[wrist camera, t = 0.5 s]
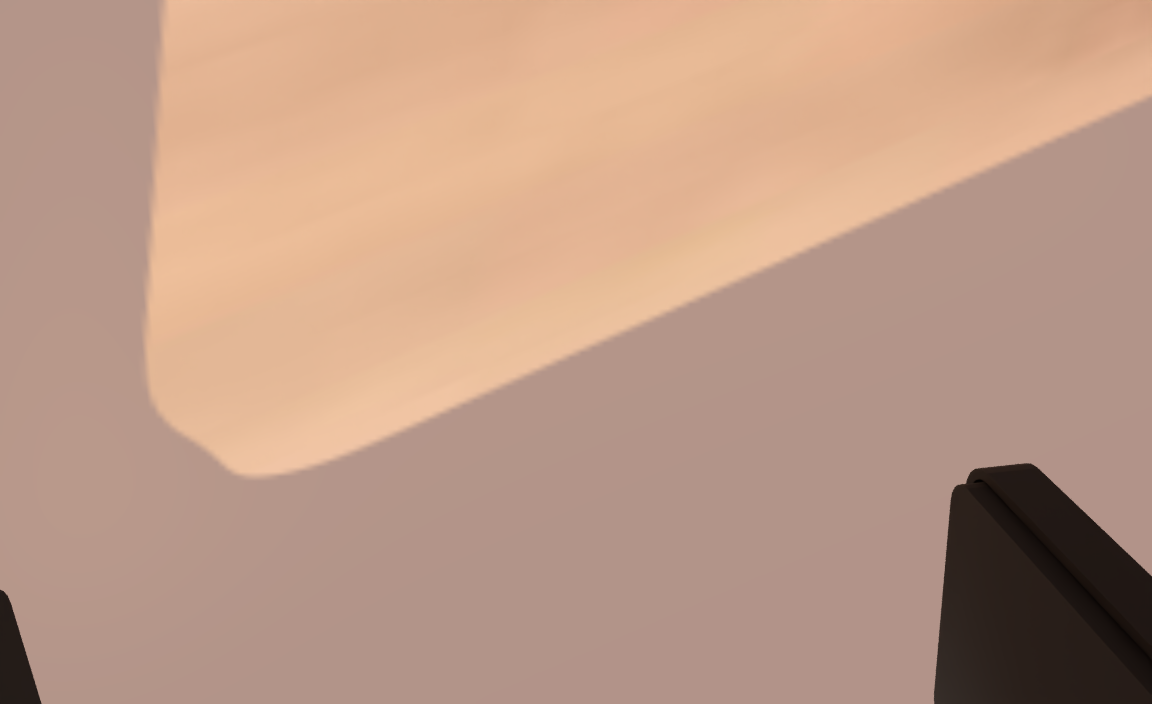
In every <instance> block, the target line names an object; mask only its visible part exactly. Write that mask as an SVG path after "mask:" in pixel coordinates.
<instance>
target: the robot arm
mask: <svg viewBox="0 0 1152 704" xmlns="http://www.w3.org/2000/svg"><path fill="white" fill-rule="evenodd" d="M939 632H940V633H939V643H938V655H937V666H936V679H935V690H934V704H1152V576H1151V575H1150V574H1149V573H1147V571H1145V569H1143V568H1142V567H1141V566H1140V565H1139V564H1138V563H1137V562H1136V561H1135V560H1134V559H1133V558H1132V557H1131V556H1130V555H1129V554H1128V553H1126V551H1124V550H1123V549H1122V548H1121V547H1120V546H1119V545H1118V544H1117V543H1116V542H1115V541H1114V540H1113V539H1112V538H1111V537H1110V536H1109V535H1108V534H1107V533H1106V532H1105V531H1104V530H1102V529H1101V528H1100V527H1099V526H1098V525H1097V524H1096V523H1095V522H1094V521H1093V520H1092V519H1091V518H1090V517H1089V516H1088V515H1087V514H1086V513H1085V512H1084V511H1083V510H1081V509H1080V508H1079V507H1078V506H1077V505H1076V504H1075V503H1074V502H1073V501H1072V500H1071V499H1070V498H1069V497H1068V496H1067V495H1066V494H1065V493H1063V492H1062V491H1061V490H1060V489H1059V488H1058V487H1057V486H1056V485H1055V484H1054V483H1053V482H1052V481H1051V480H1050V479H1049V478H1048V477H1047V476H1046V475H1045V474H1044V473H1042V472H1041V471H1040V470H1039V469H1038V468H1037V467H1036V466H1034V465H1032V464H1027V463H1026V464H1015V465H1006V466H997V467H988V468H978V469H974V470H973V471H972V472H971V473H970V475H969V476H968V479H967V483H966V484H961V485H957V486H956V487H955V488H954V490H953V492H952V497H951V505H950V515H949V527H948V539H947V550H946V562H945V574H944V585H943V597H942V608H941V620H940V631H939ZM0 704H41V701H40V698H39V695H38V691H37V688H36V685H35V681H34V678H33V674H32V671H31V668H30V665H29V661H28V658H27V655H26V652H25V648H24V645H23V642H22V639H21V635H20V632H19V628H18V625H17V622H16V619H15V615H14V612H13V609H12V605H11V603H10V600H9V598H8V596H7V595H6V594H5V592H4V591H2V590H0Z"/></svg>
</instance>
